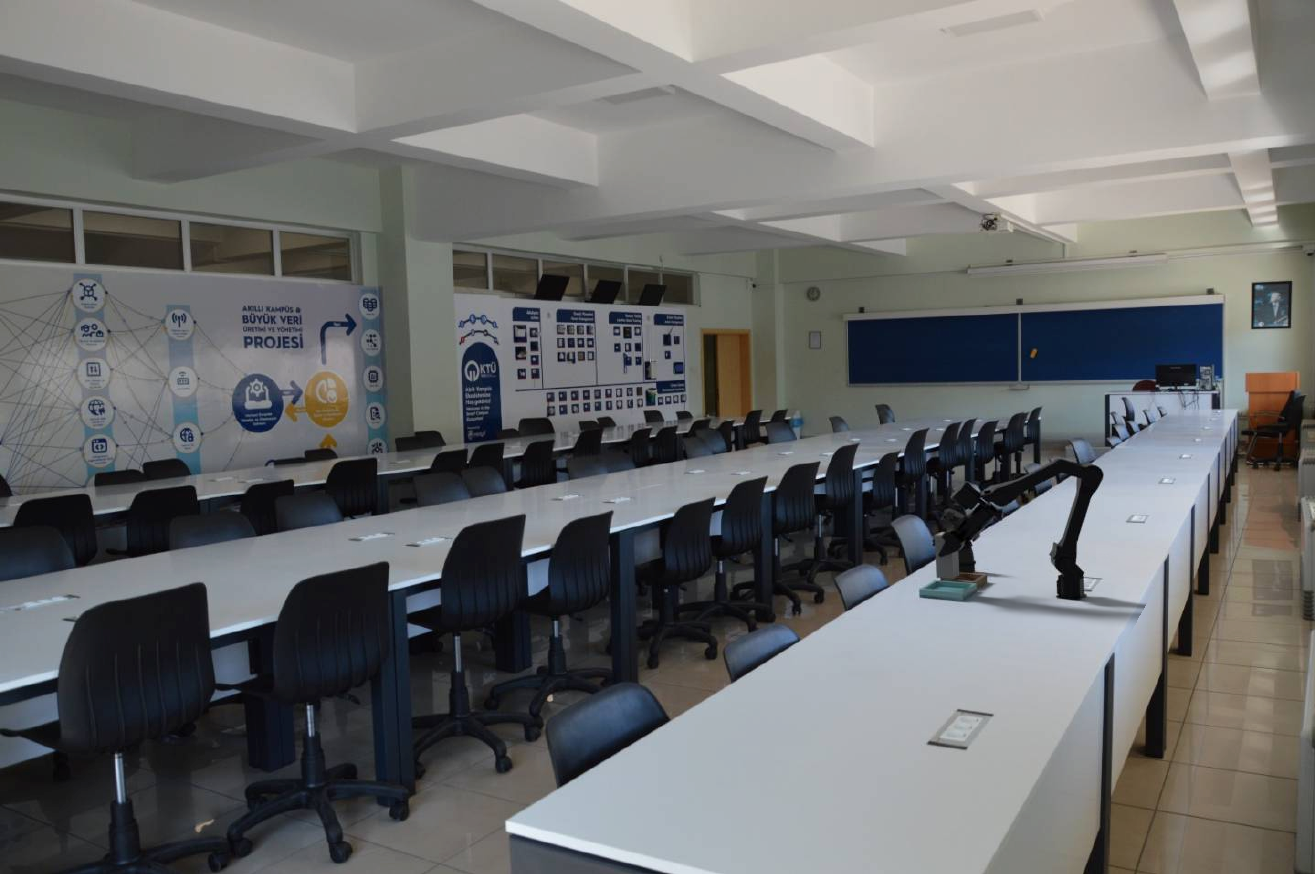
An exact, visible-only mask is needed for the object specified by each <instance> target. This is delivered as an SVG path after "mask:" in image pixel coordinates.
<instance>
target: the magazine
mask: <svg viewBox="0 0 1315 874" xmlns="http://www.w3.org/2000/svg"><path fill="white" fill-rule="evenodd" d="M931 541H932V544H931V545H932V547H935V538H933V539H932V540H931ZM958 559H959V572H960V573H974V574H975V572H976V564H977V560H975V555H974V550H973V542H971V544H970V545H967V546H965V547H963V548H961V550H959V551H958Z"/></svg>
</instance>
